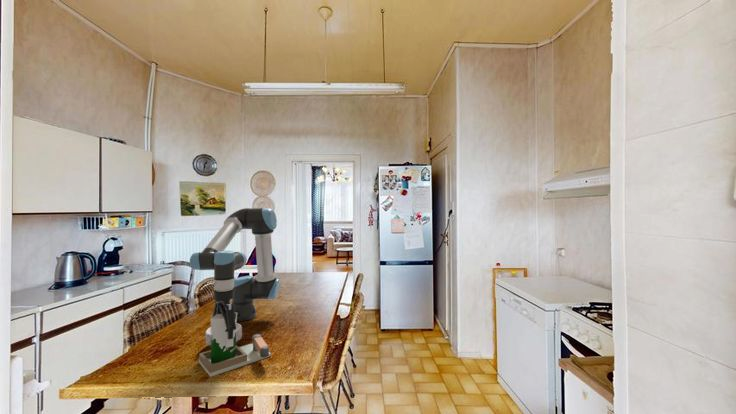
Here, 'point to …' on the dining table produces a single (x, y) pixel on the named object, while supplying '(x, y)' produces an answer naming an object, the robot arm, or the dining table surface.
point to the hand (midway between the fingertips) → (223, 341)
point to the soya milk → (221, 340)
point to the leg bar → (260, 345)
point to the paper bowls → (238, 334)
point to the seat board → (230, 360)
